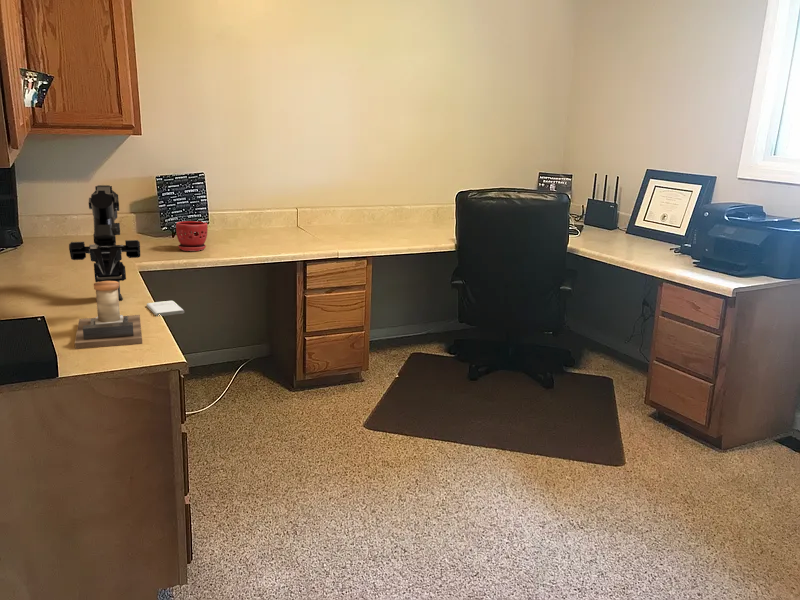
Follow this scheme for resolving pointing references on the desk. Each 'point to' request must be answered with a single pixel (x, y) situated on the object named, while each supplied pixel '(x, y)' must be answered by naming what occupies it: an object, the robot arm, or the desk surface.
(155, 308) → the external hard drive
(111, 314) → the knob slider
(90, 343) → the track board
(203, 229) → the plant pot
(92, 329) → the grey slider guide rails
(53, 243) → the desk surface
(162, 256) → the desk surface
